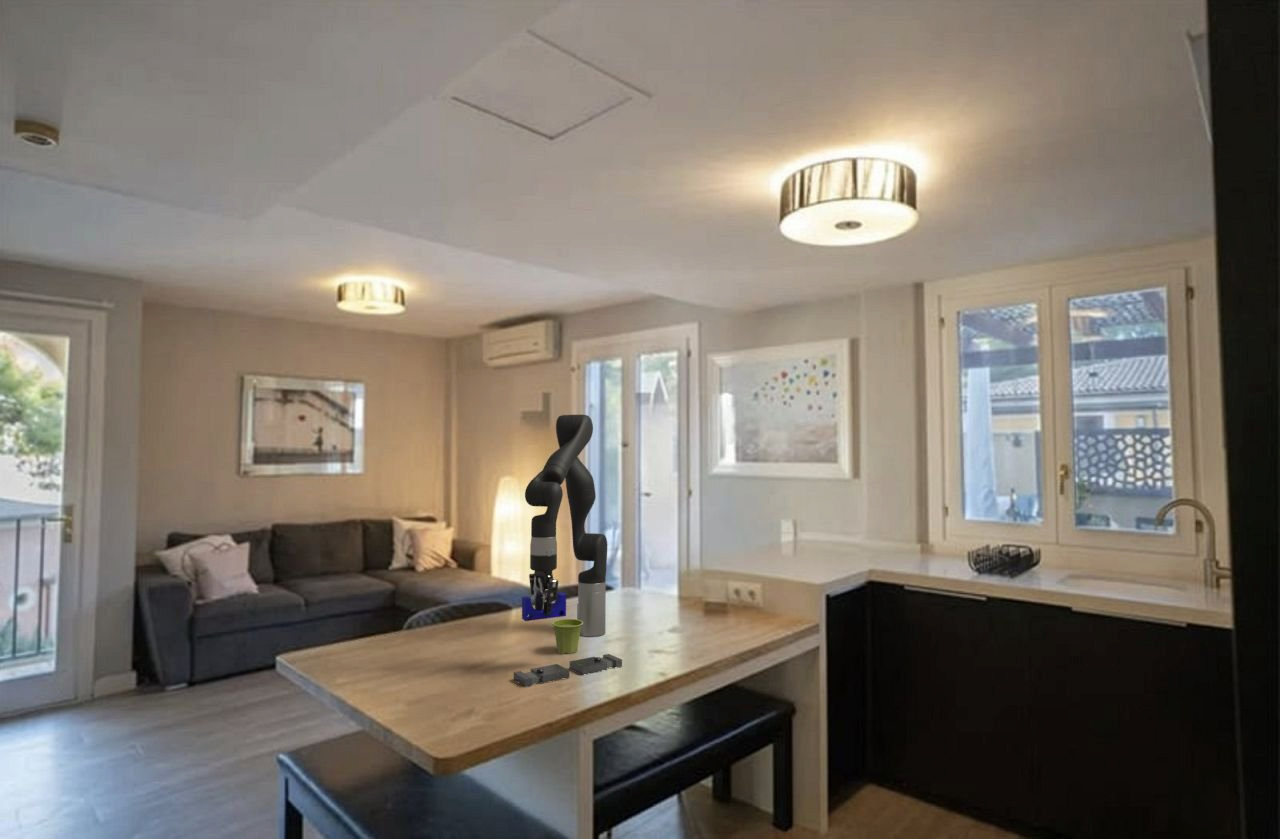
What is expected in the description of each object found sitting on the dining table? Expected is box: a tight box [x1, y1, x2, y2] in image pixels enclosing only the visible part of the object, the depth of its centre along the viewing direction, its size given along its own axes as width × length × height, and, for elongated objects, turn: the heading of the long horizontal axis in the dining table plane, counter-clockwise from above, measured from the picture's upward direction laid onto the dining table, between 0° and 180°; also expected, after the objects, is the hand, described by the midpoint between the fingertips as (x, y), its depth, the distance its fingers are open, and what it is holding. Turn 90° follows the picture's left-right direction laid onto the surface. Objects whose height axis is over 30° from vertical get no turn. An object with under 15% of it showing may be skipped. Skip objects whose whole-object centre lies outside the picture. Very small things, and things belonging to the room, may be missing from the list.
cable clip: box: [521, 592, 567, 622], centre depth 196 cm, size 12×4×6 cm, turn 118°
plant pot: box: [552, 618, 583, 655], centre depth 212 cm, size 9×9×9 cm
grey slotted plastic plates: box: [513, 653, 623, 688], centre depth 191 cm, size 7×30×3 cm, turn 125°
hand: (543, 613), depth 196 cm, fingers closed on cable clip, 4 cm apart
